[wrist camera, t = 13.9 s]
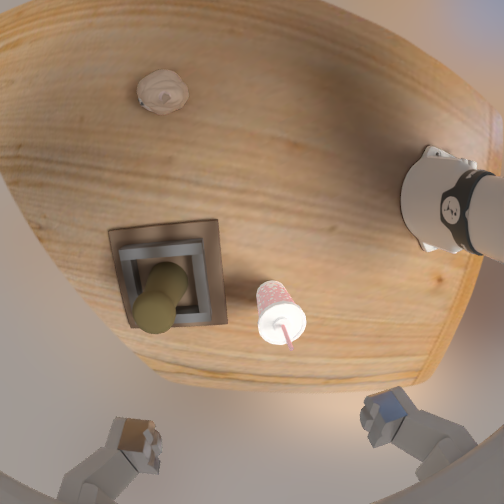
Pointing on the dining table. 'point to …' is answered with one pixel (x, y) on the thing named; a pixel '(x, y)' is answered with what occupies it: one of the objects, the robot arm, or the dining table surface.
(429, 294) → the dining table surface
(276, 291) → the beverage cup
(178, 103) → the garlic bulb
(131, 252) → the socket base
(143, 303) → the olive pawn peg
